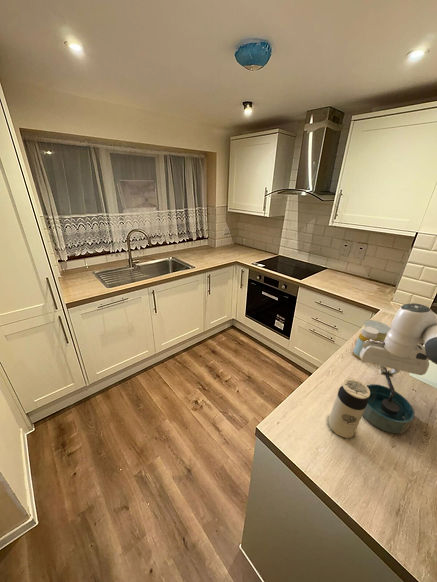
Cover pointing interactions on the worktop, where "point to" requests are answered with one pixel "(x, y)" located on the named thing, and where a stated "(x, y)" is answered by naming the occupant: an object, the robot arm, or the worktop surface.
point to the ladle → (390, 399)
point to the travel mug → (348, 407)
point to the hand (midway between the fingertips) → (385, 374)
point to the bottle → (365, 338)
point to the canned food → (380, 327)
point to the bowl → (384, 419)
